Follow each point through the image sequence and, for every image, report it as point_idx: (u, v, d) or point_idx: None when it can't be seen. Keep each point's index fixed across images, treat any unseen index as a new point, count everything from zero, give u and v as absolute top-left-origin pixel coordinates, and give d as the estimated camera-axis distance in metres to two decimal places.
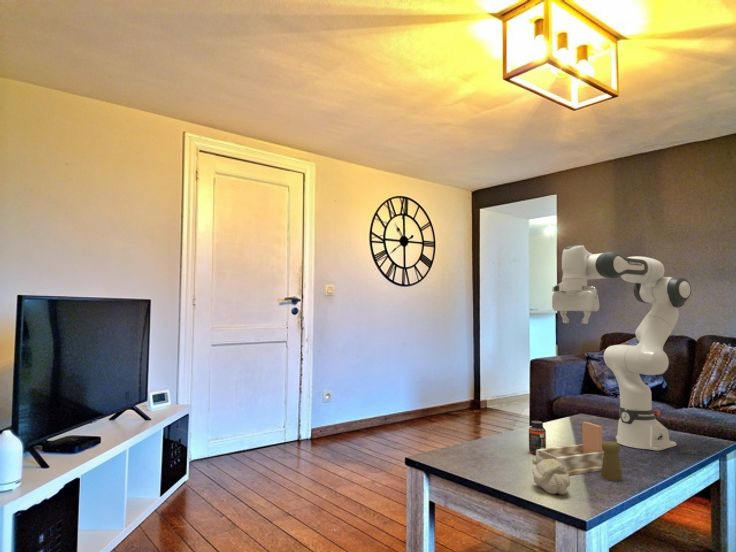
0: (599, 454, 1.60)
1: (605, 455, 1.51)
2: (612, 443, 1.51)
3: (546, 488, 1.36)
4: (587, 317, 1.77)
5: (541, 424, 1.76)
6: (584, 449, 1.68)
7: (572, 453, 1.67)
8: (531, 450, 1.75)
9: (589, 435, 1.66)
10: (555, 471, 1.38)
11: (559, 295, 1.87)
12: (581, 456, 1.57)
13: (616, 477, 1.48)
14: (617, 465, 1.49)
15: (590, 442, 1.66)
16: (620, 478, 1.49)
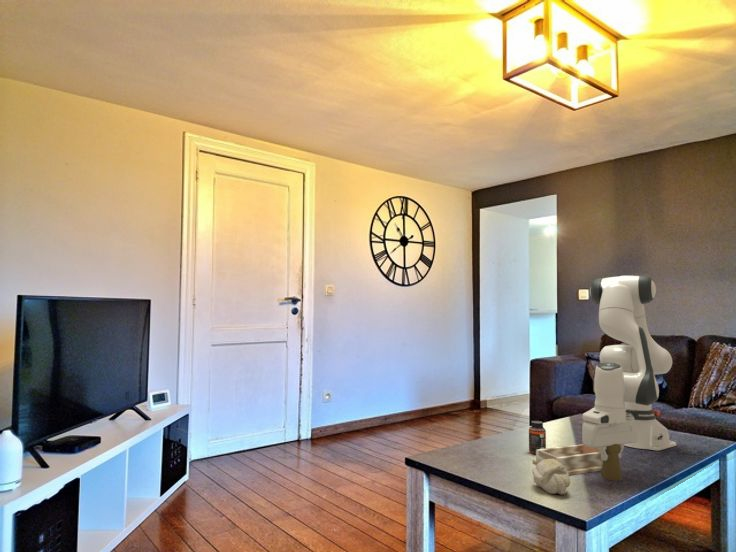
0: (599, 454, 1.60)
1: None
2: None
3: (546, 488, 1.36)
4: None
5: (541, 424, 1.76)
6: (584, 449, 1.68)
7: (572, 453, 1.67)
8: (531, 450, 1.75)
9: None
10: (555, 471, 1.38)
11: (603, 427, 1.48)
12: (581, 456, 1.57)
13: (616, 477, 1.48)
14: (617, 465, 1.49)
15: None
16: (620, 478, 1.49)
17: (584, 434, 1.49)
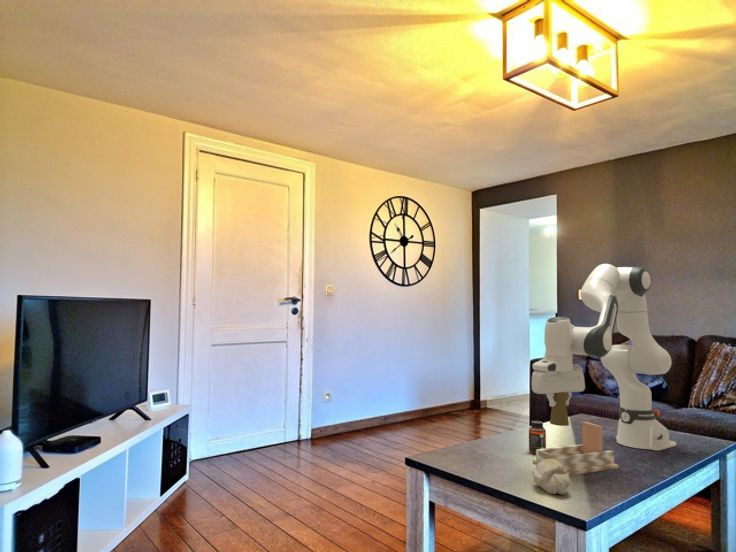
0: (599, 454, 1.60)
1: None
2: None
3: (546, 488, 1.36)
4: None
5: (541, 424, 1.76)
6: (584, 449, 1.68)
7: (572, 453, 1.67)
8: (531, 450, 1.75)
9: (589, 435, 1.66)
10: (555, 471, 1.38)
11: (550, 375, 1.58)
12: (581, 456, 1.57)
13: (563, 422, 1.58)
14: (564, 411, 1.59)
15: (590, 442, 1.66)
16: (566, 423, 1.59)
17: (533, 382, 1.60)
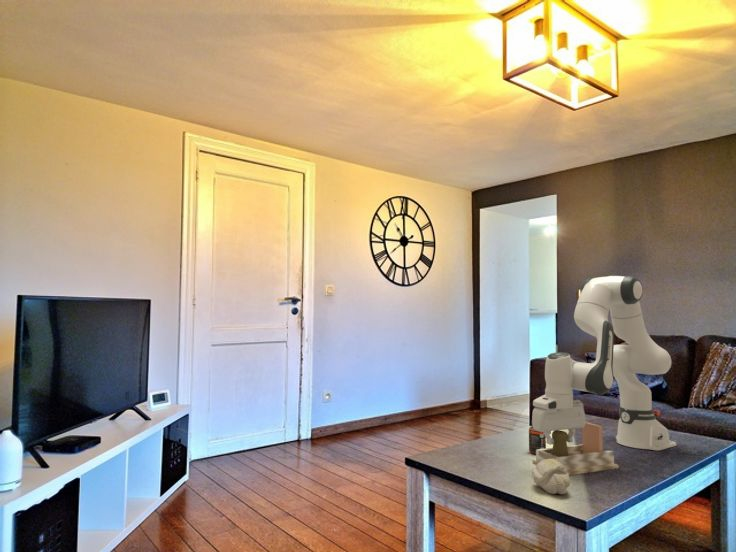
0: (599, 454, 1.60)
1: (554, 443, 1.60)
2: (561, 432, 1.60)
3: (546, 488, 1.36)
4: None
5: None
6: (584, 449, 1.68)
7: (572, 453, 1.67)
8: (531, 450, 1.75)
9: (589, 435, 1.66)
10: (555, 471, 1.38)
11: (551, 413, 1.57)
12: (581, 456, 1.57)
13: None
14: (565, 452, 1.58)
15: (590, 442, 1.66)
16: None
17: (533, 419, 1.59)
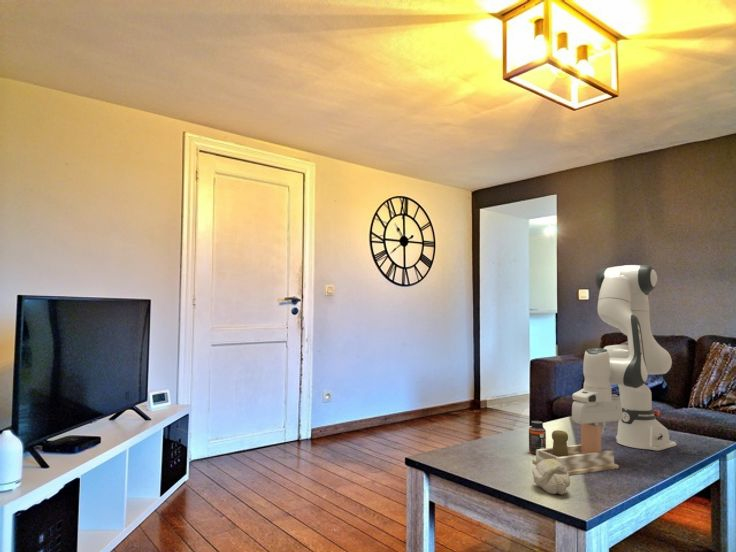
0: (599, 454, 1.60)
1: (554, 443, 1.60)
2: (561, 432, 1.60)
3: (546, 488, 1.36)
4: None
5: (541, 424, 1.76)
6: (583, 449, 1.68)
7: (572, 453, 1.67)
8: (531, 450, 1.75)
9: (588, 435, 1.66)
10: (555, 471, 1.38)
11: (590, 406, 1.64)
12: (581, 456, 1.57)
13: None
14: (565, 452, 1.58)
15: (589, 442, 1.65)
16: None
17: (573, 412, 1.65)
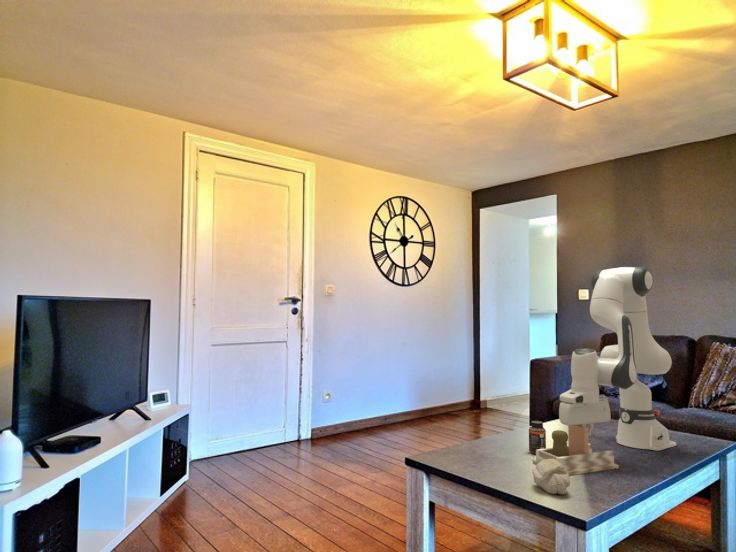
0: (599, 454, 1.60)
1: (554, 443, 1.60)
2: (561, 432, 1.60)
3: (546, 488, 1.36)
4: None
5: (541, 424, 1.76)
6: (570, 451, 1.66)
7: None
8: (531, 450, 1.75)
9: (575, 437, 1.64)
10: (555, 471, 1.38)
11: (578, 407, 1.62)
12: (581, 456, 1.57)
13: None
14: (565, 452, 1.58)
15: (576, 444, 1.63)
16: None
17: (560, 413, 1.63)
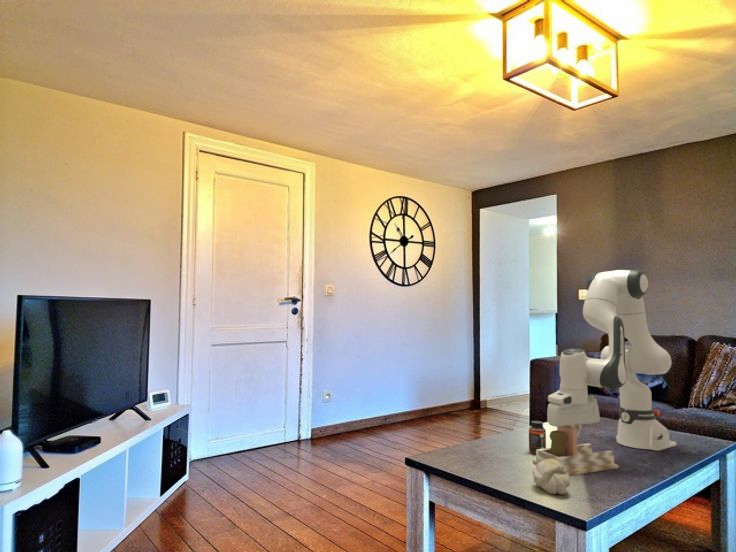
0: (599, 454, 1.60)
1: (552, 443, 1.60)
2: (559, 432, 1.59)
3: (546, 488, 1.36)
4: None
5: (541, 424, 1.76)
6: None
7: None
8: (531, 450, 1.75)
9: None
10: (555, 471, 1.38)
11: (566, 408, 1.60)
12: (581, 456, 1.57)
13: None
14: (563, 452, 1.58)
15: (565, 445, 1.61)
16: None
17: (548, 414, 1.61)
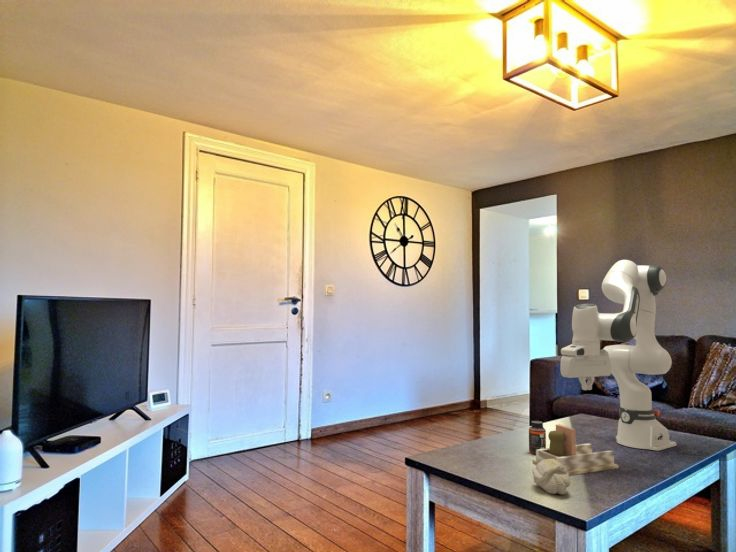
0: (599, 454, 1.60)
1: (551, 444, 1.60)
2: (557, 432, 1.59)
3: (546, 488, 1.36)
4: None
5: (541, 424, 1.76)
6: None
7: None
8: (531, 450, 1.75)
9: None
10: (555, 471, 1.38)
11: (579, 359, 1.63)
12: (581, 456, 1.57)
13: None
14: (562, 453, 1.58)
15: None
16: None
17: (562, 366, 1.64)
